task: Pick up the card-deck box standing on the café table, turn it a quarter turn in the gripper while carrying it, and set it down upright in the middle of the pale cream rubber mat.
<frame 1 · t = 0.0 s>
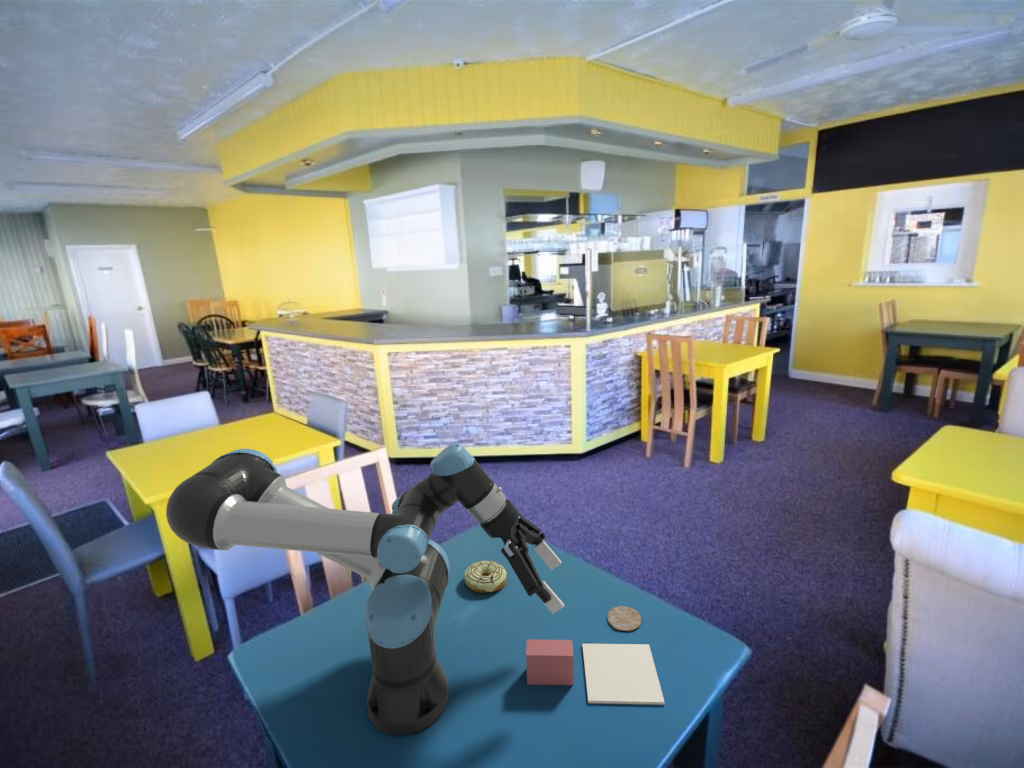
hand: (557, 586, 103), 15 cm above the table, tool tilted 35°, fingers open, 13 cm apart
card deck box: (550, 676, 100), on the table
decorated donut: (485, 583, 129), on the table
flatbread: (623, 621, 115), on the table
serving mat: (620, 673, 100), on the table
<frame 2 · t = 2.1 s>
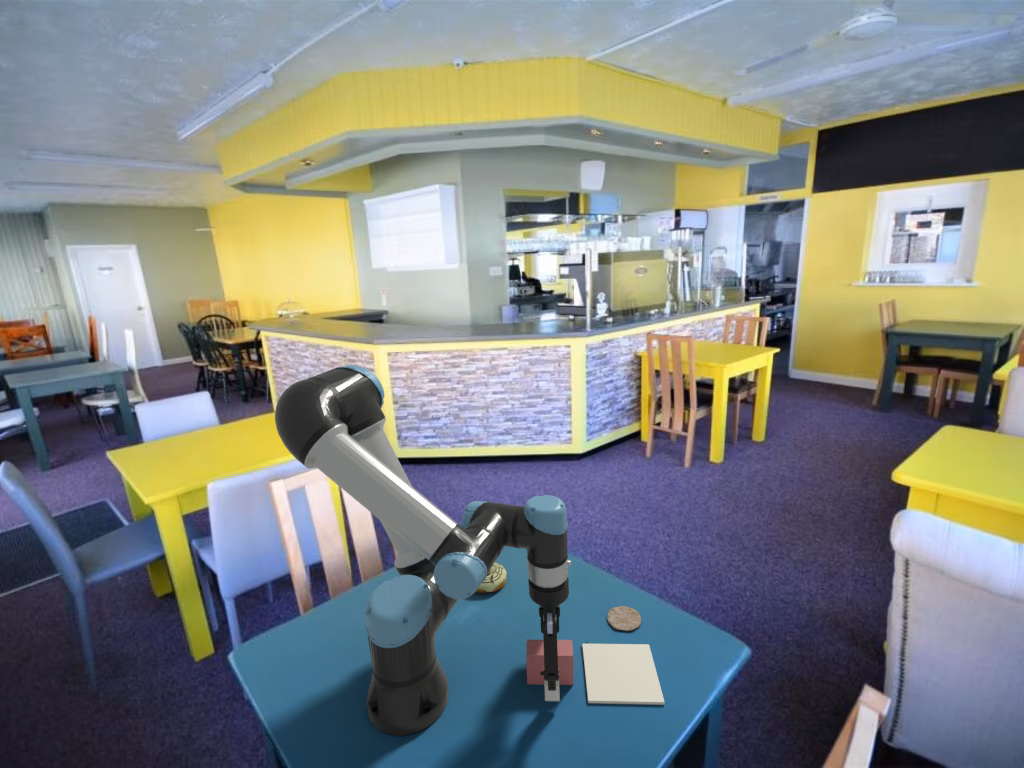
hand: (551, 669, 100), 2 cm above the table, tool pointing down, fingers open, 13 cm apart
nothing on the table moved.
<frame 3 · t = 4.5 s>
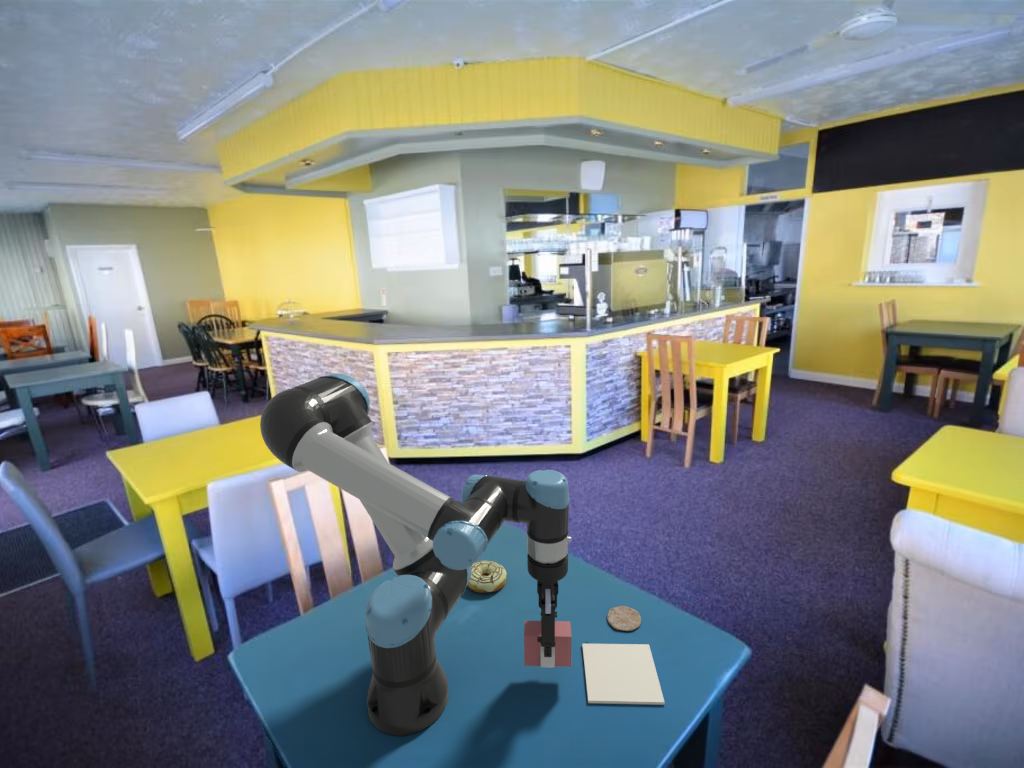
hand: (547, 656, 99), 5 cm above the table, tool pointing down, fingers closed on card deck box, 4 cm apart
card deck box: (547, 658, 99), point 4 cm above the table, touching gripper
everything else where it was.
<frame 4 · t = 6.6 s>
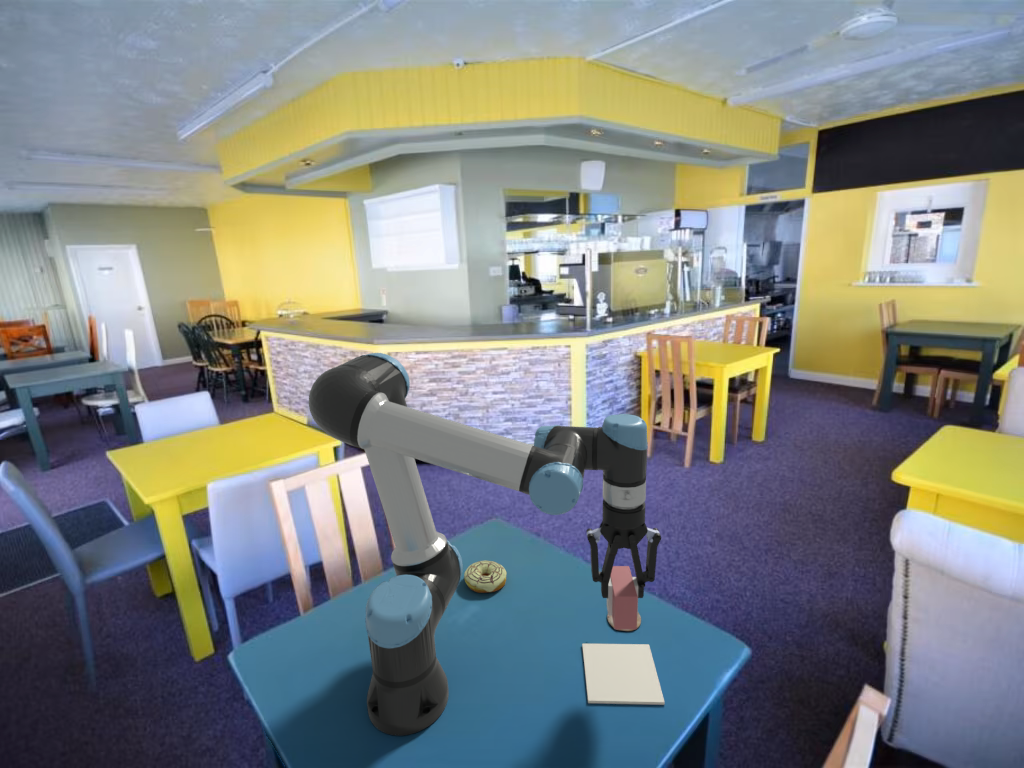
hand: (621, 610, 96), 15 cm above the table, tool pointing down, fingers closed on card deck box, 4 cm apart
card deck box: (621, 612, 96), point 14 cm above the table, touching gripper
everything else where it was.
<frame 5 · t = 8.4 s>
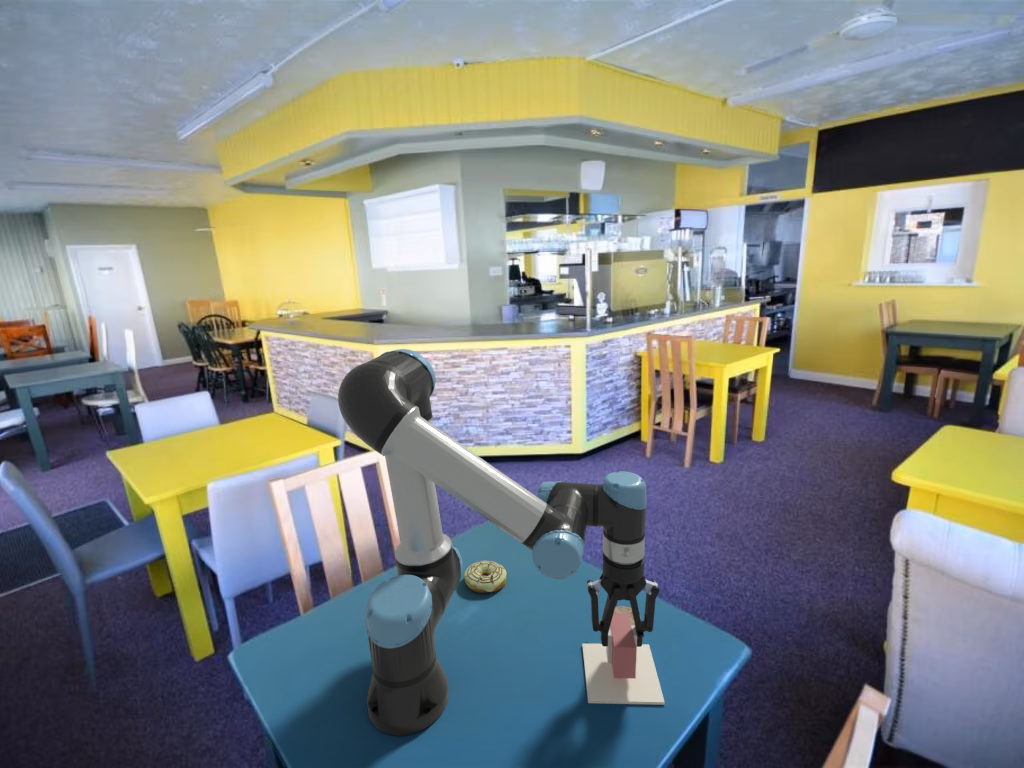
hand: (621, 657, 99), 4 cm above the table, tool pointing down, fingers closed on card deck box, 4 cm apart
card deck box: (621, 659, 99), point 3 cm above the table, touching gripper
everything else where it was.
when the fingers open (1 cm above the table, at t = 9.2 s): card deck box stays where it is, resting on serving mat.
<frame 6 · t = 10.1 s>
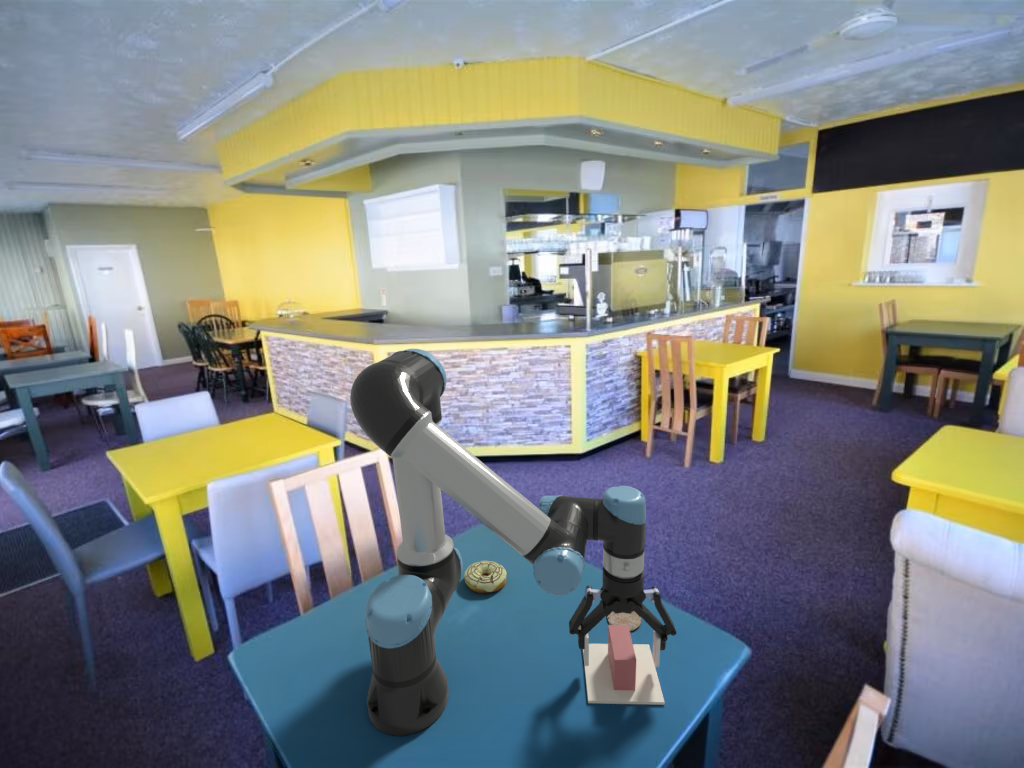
hand: (620, 661, 99), 3 cm above the table, tool pointing down, fingers open, 13 cm apart
card deck box: (620, 671, 100), point 1 cm above the table, touching serving mat
everything else where it was.
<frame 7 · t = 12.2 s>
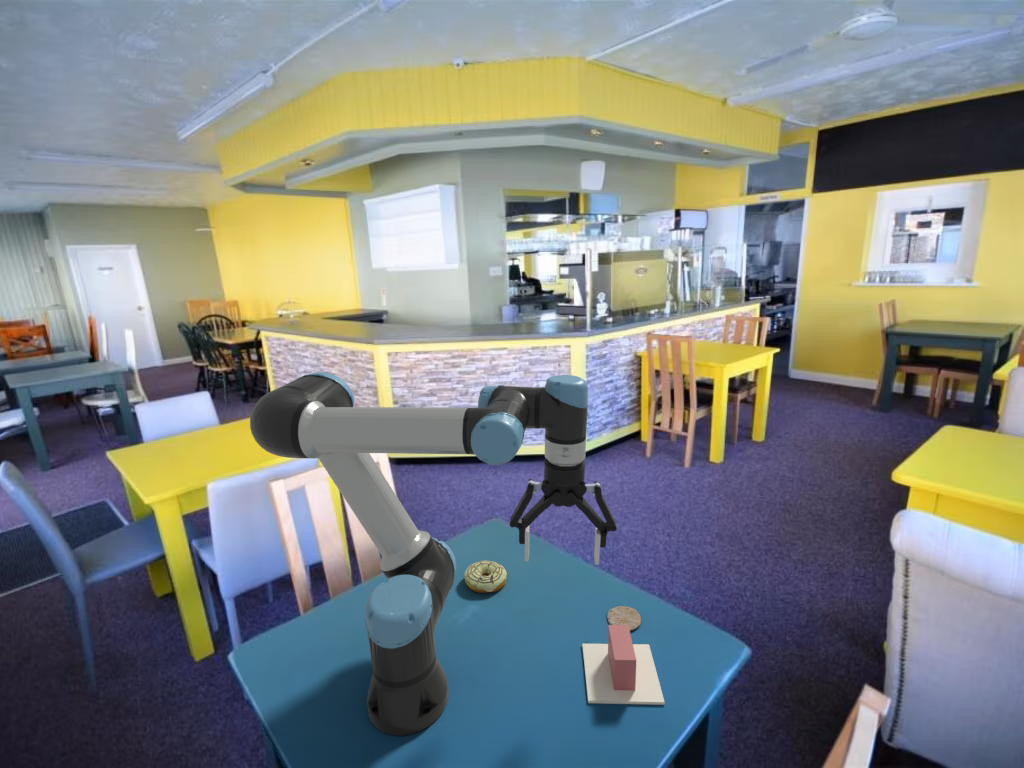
hand: (561, 559, 99), 23 cm above the table, tool pointing down, fingers open, 13 cm apart
nothing on the table moved.
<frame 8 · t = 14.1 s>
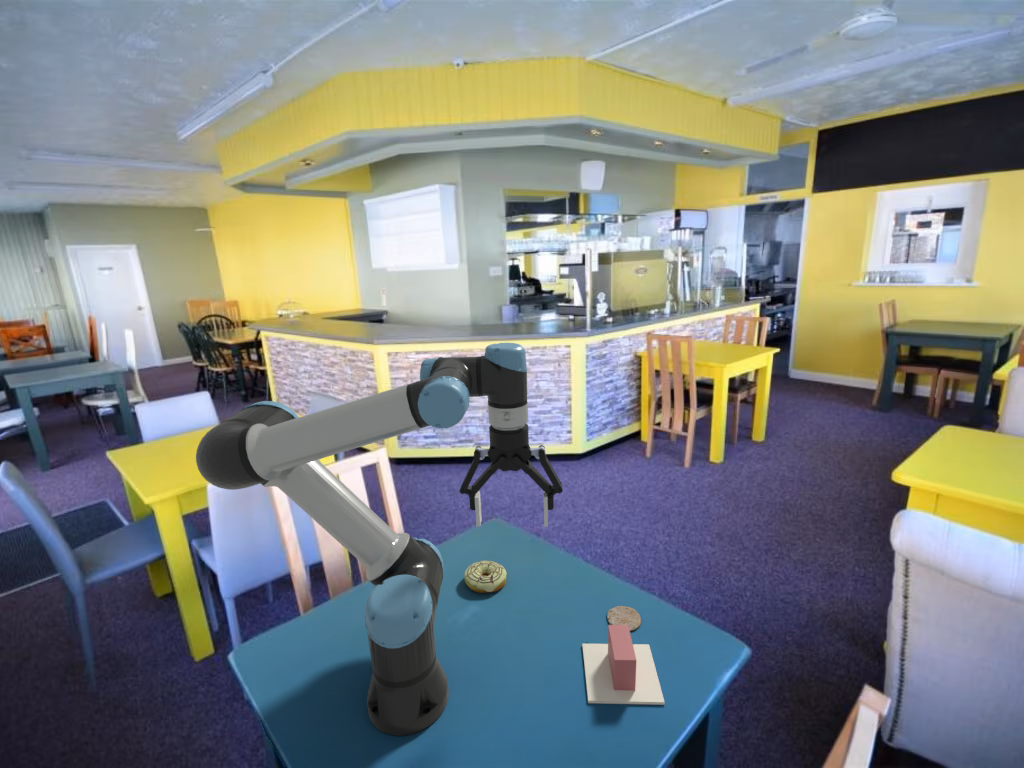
hand: (512, 523, 102), 29 cm above the table, tool pointing down, fingers open, 13 cm apart
nothing on the table moved.
at the end: card deck box inside the target area on the serving mat (0.1 cm from its centre), point 0.6 cm above the serving mat's base; card deck box tilted 0°; the gripper is holding nothing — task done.
